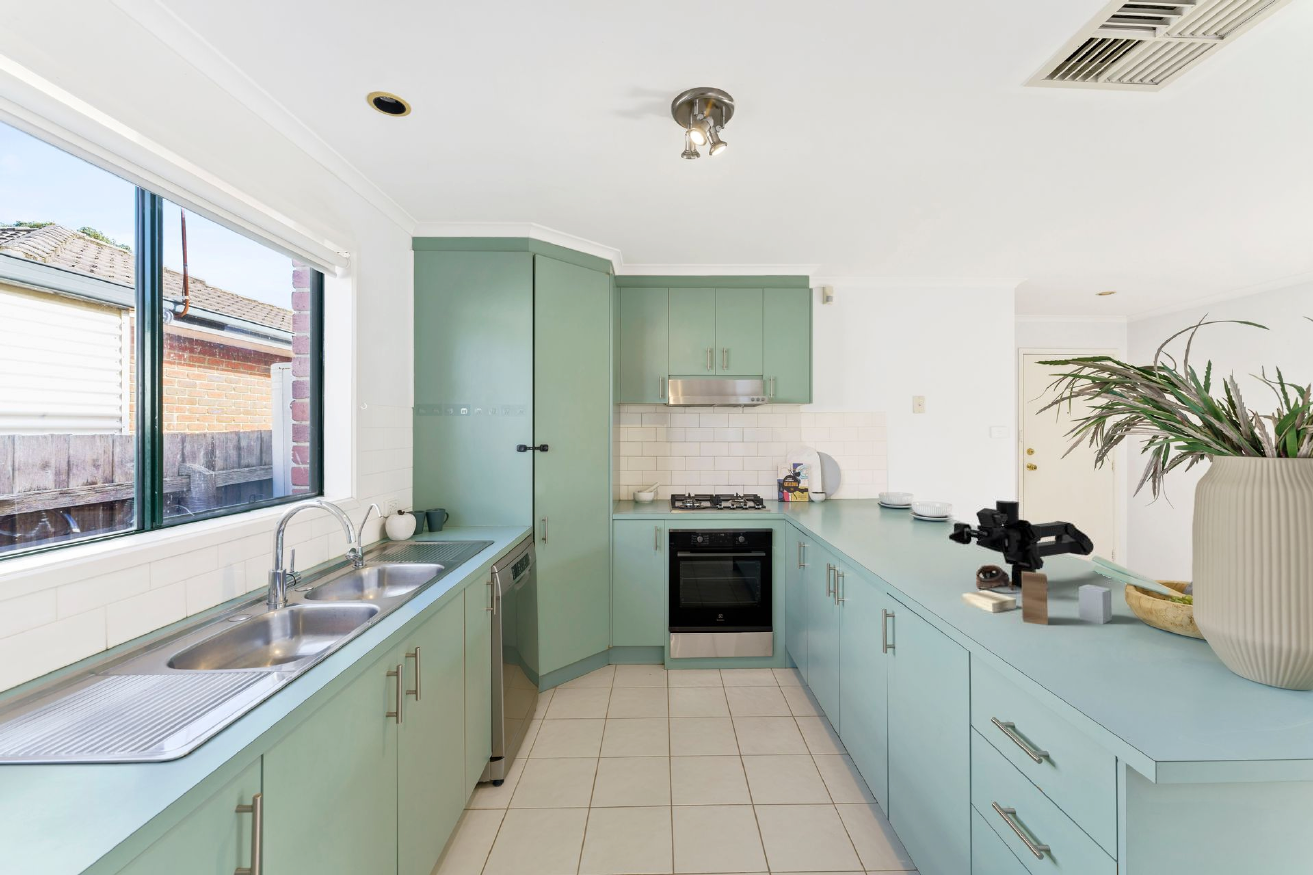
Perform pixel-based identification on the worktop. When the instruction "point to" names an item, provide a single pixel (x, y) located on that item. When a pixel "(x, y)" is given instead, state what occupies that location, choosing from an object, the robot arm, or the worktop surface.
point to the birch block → (989, 601)
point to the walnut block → (1034, 598)
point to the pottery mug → (992, 577)
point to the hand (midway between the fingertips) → (962, 540)
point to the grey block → (1095, 603)
